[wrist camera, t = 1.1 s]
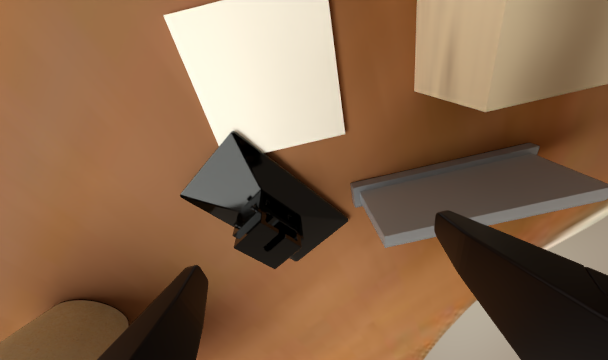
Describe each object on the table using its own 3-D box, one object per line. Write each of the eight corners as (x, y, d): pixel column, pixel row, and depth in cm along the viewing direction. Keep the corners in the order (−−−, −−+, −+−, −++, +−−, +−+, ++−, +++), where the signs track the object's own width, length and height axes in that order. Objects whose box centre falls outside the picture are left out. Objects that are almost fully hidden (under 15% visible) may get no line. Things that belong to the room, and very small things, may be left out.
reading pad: (323, -24, 12) (325, -26, 12) (343, 132, 17) (345, 134, 17) (166, 16, 13) (163, 15, 12) (226, 159, 17) (225, 161, 17)
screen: (530, 142, 19) (626, 177, 13) (523, 164, 20) (611, 204, 14) (350, 183, 19) (376, 232, 14) (352, 202, 20) (377, 254, 15)
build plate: (348, 217, 21) (365, 258, 17) (294, 261, 23) (297, 307, 19) (234, 127, 16) (216, 153, 12) (180, 193, 18) (149, 236, 14)
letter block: (533, -59, 13) (738, -150, 7) (505, 72, 16) (629, 83, 10) (417, -30, 13) (523, -94, 7) (413, 93, 16) (484, 116, 10)
